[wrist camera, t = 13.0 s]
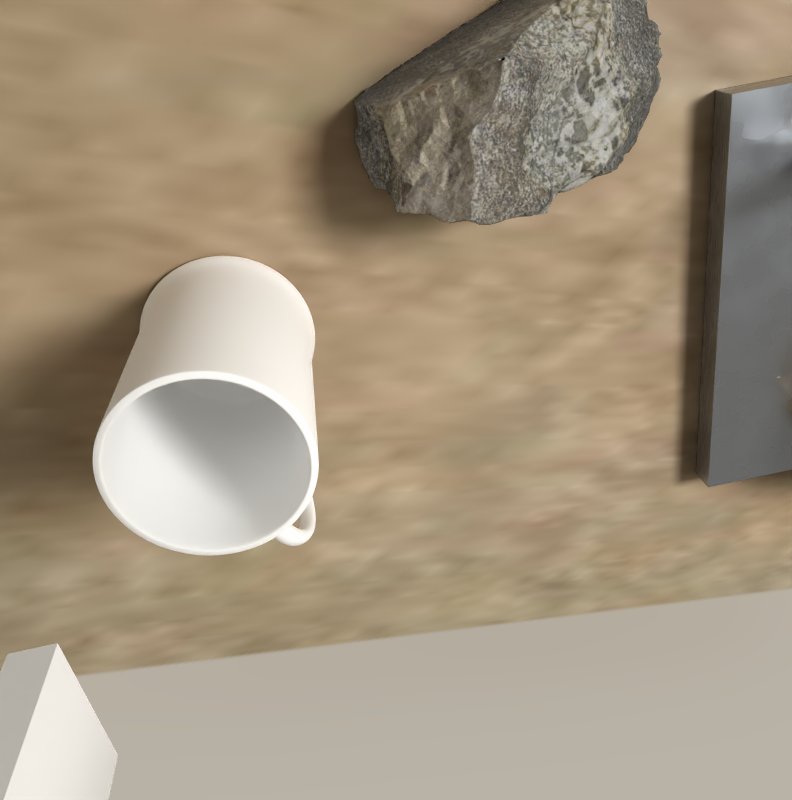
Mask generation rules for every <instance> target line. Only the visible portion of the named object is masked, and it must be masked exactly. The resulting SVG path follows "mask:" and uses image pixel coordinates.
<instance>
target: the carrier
mask: <svg viewBox="0 0 792 800" xmlns="http://www.w3.org/2000/svg"><path fill="white" fill-rule="evenodd" d="M788 470H792V76H788V77H783V78H777V79H772V80H767V81H761V82H756V83H751V84H746V85H740V86H735V87H730V88H724V89H719V90H716V92H715V111H714V131H713V151H712V170H711V190H710V210H709V229H708V249H707V269H706V288H705V308H704V328H703V347H702V367H701V387H700V406H699V426H698V446H697V465H696V473H697V475H698V476H699V477H700V478H701V479H702V481H703V482H704V483H705V484H706V485H707V486H708V487H711V486H716V485H721V484H726V483H731V482H735V481H740V480H745V479H750V478H754V477H759V476H764V475H769V474H774V473H778V472H783V471H788Z"/></svg>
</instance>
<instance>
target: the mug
mask: <svg viewBox="0 0 792 800" xmlns="http://www.w3.org/2000/svg"><path fill="white" fill-rule="evenodd" d="M314 347H315V331H314V324H313V320H312V316H311V314H310V311H309V309H308V306H307V304H306V302H305V301H304V299H303V297H302V296H301V294H300V293H299V292H298V290H297V289H296V288H295V287H294V286H293V285H292V284H291V283H290V282H289V281H288V280H287V279H286V278H285V277H283V276H282V275H281V274H279V273H278V272H277V271H275V270H273V269H272V268H270V267H268V266H266V265H264V264H262V263H259V262H256V261H253V260H250V259H246V258H242V257H236V256H211V257H205V258H201V259H197V260H194V261H191V262H188V263H186V264H184V265H182V266H180V267H178V268H176V269H175V270H173V271H172V272H170V273H169V274H168V275H166V276H165V277H164V278H163V279H162V280H161V281H160V282H159V283H158V284H157V285H156V287H155V288H154V289H153V291H152V292H151V294H150V295H149V297H148V299H147V301H146V303H145V306H144V308H143V312H142V315H141V320H140V332H139V334H138V337H137V339H136V341H135V344H134V346H133V348H132V351H131V353H130V356H129V358H128V360H127V363H126V365H125V367H124V370H123V372H122V375H121V377H120V379H119V382H118V384H117V387H116V389H115V391H114V394H113V396H112V398H111V401H110V403H109V406H108V408H107V410H106V413H105V415H104V417H103V420H102V422H101V425H100V427H99V430H98V432H97V435H96V439H95V443H94V448H93V472H94V477H95V481H96V484H97V487H98V490H99V492H100V494H101V496H102V498H103V500H104V502H105V503H106V505H107V506H108V508H109V509H110V510H111V512H112V513H113V514H114V515H115V516H116V517H117V518H118V519H119V520H120V521H121V522H122V523H123V524H124V525H125V526H126V527H127V528H129V529H130V530H131V531H133V532H134V533H136V534H137V535H139V536H140V537H142V538H144V539H146V540H147V541H149V542H151V543H154V544H156V545H158V546H161V547H164V548H167V549H170V550H173V551H177V552H182V553H188V554H195V555H223V554H230V553H236V552H241V551H244V550H248V549H251V548H254V547H257V546H259V545H261V544H264V543H266V542H268V541H270V540H271V539H273V538H275V539H276V540H278V541H280V542H281V543H283V544H286V545H289V546H297V545H301V544H303V543H305V542H306V541H307V540H308V539H309V538H310V537H311V536H312V534H313V532H314V529H315V522H316V517H315V507H314V502H313V497H312V495H313V492H314V490H315V486H316V482H317V477H318V445H317V431H316V416H315V402H314V387H313V373H312V357H313V353H314ZM299 517H300V525H299V529H298V528H296V527H294V526H293V525H292V524H293V523H294V522H295V521H296V520H297V519H298V518H299Z"/></svg>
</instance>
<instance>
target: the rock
mask: <svg viewBox="0 0 792 800" xmlns="http://www.w3.org/2000/svg"><path fill="white" fill-rule="evenodd" d="M646 4H647V0H502V1H501V3H500V4H498V5H495V6H494V7H493V8H491V9H489V10H488V11H487V12H485V13H483V14H482V15H481V16H478V17H476V18H475V19H473V20H471V21H468V22H466V24H464V25H465V26H462V27H461V28H460V27H459V28H458V29H456V30H454V31H453V32H451V33H450V34H449V35H447V36H445V37H443V38H442V39H440V41H437V43H435V44H433V45H432V46H430V47H428V48H426V49H424V50H423V51H422V52H421V53H419V54H418V55H416V57H414V58H412V59H410V60H408V61H407V62H405V63H404V65H400V67H398V68H396V69H394V70H393V71H392V72H391V73H390V74H389V75H386V76H385V77H384V78H383V79H382V80H381V81H379V82H378V83H377V84H374V85H372V86H371V87H370V88H369V89H366V90H365V91H364V93H363V94H362V95H361V96H360V97H358V98H357V99H356V100H355V102H354V104H355V105H354V106H355V108H356V110H357V115H358V125H357V129H356V131H355V132H354V137H355V142H356V144H357V146H358V148H359V153H360V157H361V162H362V165H363V166H364V167H365V168H366V170H367V172H368V176H369V178H370V179H371V180H372V184H373V185H374V186H375V188H380V189H384V190H386V191H387V192H388V193H389V194H390V195H391V196H392V197H393V200H394V206H395V207H396V211H397V212H401V213H403V214H405V213H411V214H426V213H427V214H429V215H433V216H435V217H436V218H437V219H438V220H439V221H443V222H449V223H454V222H460V221H470V222H474V223H477V224H479V225H491V224H494V223H498V222H501V221H503V220H505V219H510V218H515V217H521V216H532V215H538V214H544V213H547V211H548V209H549V206H550V204H551V202H552V200H553V198H554V197H555V196H556V195H557V193H560V192H566V191H569V190H571V189H573V188H576V187H578V186H580V185H582V184H584V183H586V182H587V181H589V180H590V179H592V178H595V177H597V176H601V175H604V174H608V173H611V172H612V171H614V170H616V169H617V168H618V166H619V164H620V163H621V162H622V161H623V155H624V154H626V153H628V152H629V151H630V150H631V148H632V147H633V145H634V144H635V143H636V141H637V137H638V133H639V131H640V129H641V128H642V126H643V124H644V121H645V119H646V117H647V115H648V113H649V110H650V105H651V103H652V101H653V97H654V96H655V94H656V92H657V91H658V89H659V83H660V80H661V78H660V74H659V71H658V68H657V65H658V63H659V60H660V58H661V57H662V54H661V51H660V49H661V48H659V36H660V35H661V33H660V32H659V30H658V26H657V24H656V23H655V22H653V21H652V20H649V19H648V13H647V7H646ZM503 57H505V60H504V61H501V59H502V58H503Z"/></svg>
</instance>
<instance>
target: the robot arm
mask: <svg viewBox="0 0 792 800" xmlns="http://www.w3.org/2000/svg"><path fill="white" fill-rule="evenodd" d="M117 757H118V755H117V753H116V751H115V749H114V747H113V746H112V743H111V742H110V740H109V738H108V736H107V734H106V732H105V730H104V729H103V727H102V725H101V723H100V721H99V720H98V718H97V716H96V714H95V712H94V710H93V708H92V706H91V704H90V703H89V701H88V699H87V697H86V695H85V693H84V691H83V690H82V688H81V686H80V684H79V682H78V680H77V678H76V677H75V675H74V673H73V671H72V669H71V667H70V665H69V664H68V662H67V660H66V658H65V656H64V654H63V652H62V651H61V649H60V647H59V645H58V643H57V644H52V645H48V646H43V647H38V648H33V649H29V650H24V651H19V652H14V653H9V654H8V655H7V657H6V659H5V662H4V664H3V667H2V669H1V672H0V800H108V799H109V794H110V790H111V785H112V781H113V776H114V771H115V767H116V762H117Z"/></svg>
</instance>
